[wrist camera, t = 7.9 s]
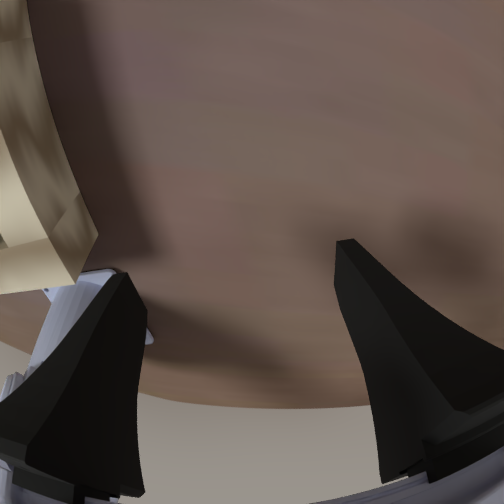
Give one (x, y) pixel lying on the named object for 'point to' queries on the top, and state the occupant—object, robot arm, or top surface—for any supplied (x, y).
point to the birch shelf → (34, 173)
